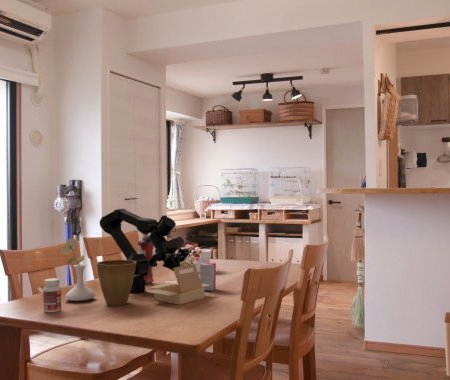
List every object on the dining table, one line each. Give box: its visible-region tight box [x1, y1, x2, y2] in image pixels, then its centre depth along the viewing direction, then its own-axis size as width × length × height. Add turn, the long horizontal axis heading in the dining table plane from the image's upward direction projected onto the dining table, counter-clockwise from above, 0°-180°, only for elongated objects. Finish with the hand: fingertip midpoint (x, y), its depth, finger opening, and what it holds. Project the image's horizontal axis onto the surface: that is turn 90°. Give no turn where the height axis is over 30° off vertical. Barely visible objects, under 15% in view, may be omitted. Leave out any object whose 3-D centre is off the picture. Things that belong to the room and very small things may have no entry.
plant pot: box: [96, 259, 136, 307], centre depth 196 cm, size 15×15×16 cm
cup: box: [195, 248, 212, 274], centre depth 266 cm, size 12×12×11 cm
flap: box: [173, 263, 202, 292], centre depth 200 cm, size 1×12×10 cm, turn 142°
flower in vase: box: [60, 237, 96, 302], centre depth 203 cm, size 13×11×25 cm
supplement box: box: [199, 262, 217, 292], centre depth 219 cm, size 6×6×12 cm
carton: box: [146, 281, 211, 306], centre depth 204 cm, size 19×24×4 cm
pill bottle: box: [42, 277, 62, 313], centre depth 186 cm, size 6×6×11 cm
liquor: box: [137, 234, 155, 285], centre depth 236 cm, size 7×7×28 cm
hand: (181, 273), depth 202 cm, fingers closed
